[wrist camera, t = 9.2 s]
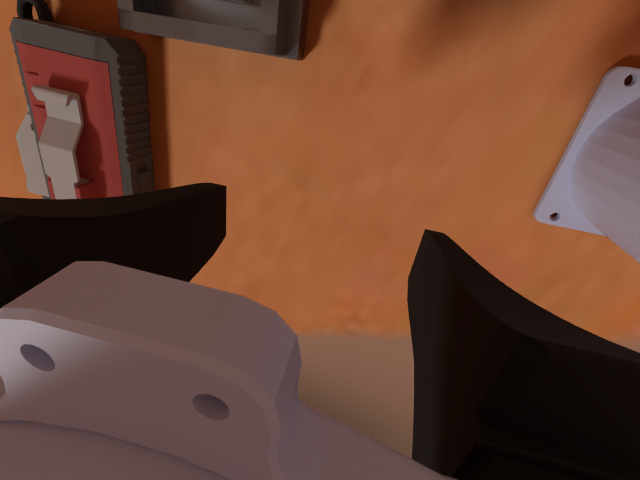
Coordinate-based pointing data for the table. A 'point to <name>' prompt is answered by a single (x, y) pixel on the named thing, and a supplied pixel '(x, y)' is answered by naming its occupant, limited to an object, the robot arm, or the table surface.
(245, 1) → the seated billet
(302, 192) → the table surface
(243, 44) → the metal divided rack
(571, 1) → the table surface
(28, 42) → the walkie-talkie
